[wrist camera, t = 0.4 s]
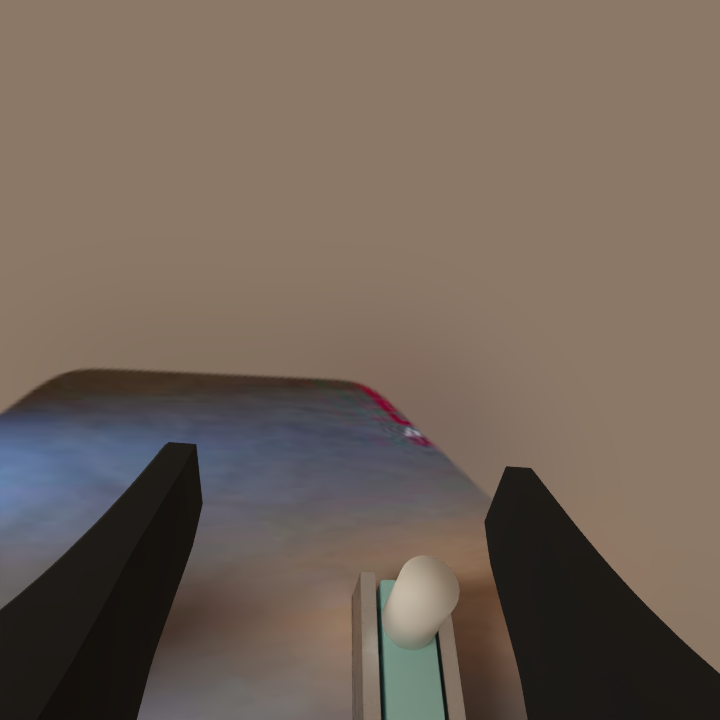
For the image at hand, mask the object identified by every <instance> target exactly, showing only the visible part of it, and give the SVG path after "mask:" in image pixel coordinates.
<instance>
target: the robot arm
mask: <svg viewBox="0 0 720 720" xmlns="http://www.w3.org/2000/svg"><path fill="white" fill-rule="evenodd" d="M202 504H203V503H202V493H201V484H200V475H199V466H198V457H197V447H196V444H187V443H173V442H168V443H167V444H166V445H164V447H163V448H162V449H161V450H160V451H159V453H158V454H157V455H156V456H155V458H154V459H153V460H152V461H151V462H150V464H149V465H148V466H147V467H146V468H145V470H144V471H143V472H142V473H141V474H140V475H139V477H138V478H137V479H136V480H135V481H134V482H133V483H132V484H131V486H130V487H129V488H128V489H127V490H126V491H125V492H124V493H123V495H122V496H121V497H120V498H119V499H118V500H117V501H116V502H115V503H114V504H113V505H112V506H111V507H110V509H109V510H108V511H107V512H106V513H105V514H104V515H103V516H102V517H101V518H100V519H99V520H98V521H97V522H96V523H95V524H94V525H93V526H92V527H91V528H90V529H89V530H88V531H87V532H86V533H85V534H84V535H83V536H82V537H81V538H80V539H79V540H78V541H77V542H76V543H75V544H74V545H73V546H72V547H71V548H70V549H69V550H68V551H67V552H66V553H65V554H64V555H63V556H62V557H61V558H60V559H59V560H57V561H56V562H55V563H54V564H53V565H52V566H51V567H50V568H49V569H48V570H47V571H45V572H44V573H43V574H42V575H41V576H40V577H39V578H38V579H36V580H35V581H34V582H33V583H32V584H31V585H29V586H28V587H27V588H26V589H25V590H24V591H22V592H21V593H20V594H19V595H18V596H17V597H15V598H14V599H13V600H12V601H10V602H9V603H8V604H7V605H6V606H4V607H3V608H2V609H1V610H0V720H137V716H138V712H139V709H140V705H141V701H142V697H143V693H144V690H145V686H146V682H147V678H148V674H149V670H150V667H151V664H152V660H153V657H154V654H155V651H156V648H157V645H158V642H159V639H160V636H161V633H162V631H163V628H164V625H165V622H166V620H167V617H168V614H169V611H170V608H171V606H172V603H173V600H174V597H175V595H176V592H177V589H178V586H179V583H180V581H181V578H182V575H183V572H184V569H185V567H186V564H187V561H188V558H189V555H190V552H191V549H192V546H193V542H194V538H195V534H196V530H197V526H198V522H199V517H200V513H201V508H202ZM485 529H486V537H487V545H488V551H489V558H490V564H491V568H492V572H493V576H494V580H495V583H496V587H497V591H498V595H499V599H500V602H501V606H502V610H503V613H504V617H505V621H506V625H507V628H508V632H509V636H510V639H511V643H512V647H513V650H514V654H515V658H516V662H517V666H518V670H519V675H520V679H521V684H522V690H523V695H524V701H525V707H526V713H527V718H528V720H720V674H719V673H718V672H717V671H716V670H715V669H714V668H713V667H711V666H710V665H709V664H708V663H707V662H706V661H705V660H703V659H702V658H701V657H700V656H699V655H698V654H697V653H695V652H694V651H693V650H692V649H691V648H690V647H689V646H688V645H686V643H684V641H682V640H681V639H680V638H679V637H678V636H677V635H676V634H675V633H674V632H673V631H672V630H671V629H670V628H669V627H668V626H667V625H666V624H665V623H664V622H663V621H662V620H661V619H660V618H659V617H658V616H657V615H656V614H655V613H654V612H653V611H652V610H650V609H649V607H648V606H646V604H645V603H644V602H643V601H642V600H641V599H640V598H639V597H638V596H637V595H636V594H635V593H634V592H633V591H632V590H631V589H630V588H629V587H628V585H627V584H626V583H625V582H624V581H623V580H622V579H621V578H620V577H619V576H618V574H617V573H616V572H615V571H614V570H613V569H612V568H611V567H610V566H609V564H608V563H607V562H606V561H605V560H604V559H603V557H602V556H601V555H600V554H599V553H598V552H597V550H596V549H595V548H594V547H593V545H592V544H591V543H590V542H589V541H588V539H587V538H586V537H585V536H584V535H583V533H582V532H581V531H580V530H579V529H578V527H577V526H576V525H575V524H574V522H573V521H572V520H571V519H570V517H569V516H568V515H567V514H566V512H565V511H564V510H563V508H562V507H561V506H560V504H559V503H558V502H557V501H556V499H555V498H554V497H553V495H552V494H551V493H550V492H549V490H548V489H547V488H546V486H545V485H544V484H543V483H542V482H541V480H540V479H539V477H538V476H537V475H536V474H535V472H534V471H533V470H532V469H531V468H521V467H508V466H507V467H506V468H505V470H504V473H503V475H502V478H501V480H500V483H499V486H498V488H497V491H496V493H495V496H494V498H493V501H492V504H491V506H490V509H489V511H488V514H487V516H486V519H485Z"/></svg>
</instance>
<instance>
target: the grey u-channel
mask: <svg viewBox="0 0 720 720" xmlns="http://www.w3.org/2000/svg"><path fill="white" fill-rule="evenodd" d="M435 639H436V648H437V656H438V665H439V673H440V682H441V691H442V699H443V708H444V716H445V720H466V716H465V709H464V702H463V695H462V687H461V680H460V673H459V666H458V659H457V652H456V645H455V638H454V631H453V624H452V617H451V614H450V615H449V616H448V618H447V619H446V621H445V622H444V623H443V625H442V626H441V627H440V629H439V630H438V631H437V633H436V634H435ZM352 691H353V720H381V706H380V682H379V658H378V634H377V610H376V586H375V573H372V572H360V575H359V578H358V581H357V584H356V587H355V590H354V592H353V595H352Z"/></svg>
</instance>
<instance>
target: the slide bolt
mask: <svg viewBox="0 0 720 720" xmlns="http://www.w3.org/2000/svg"><path fill="white" fill-rule="evenodd" d="M459 593H460V590H459V584H458V580H457V578H456V576H455V574H454V572H453V571H452V569H451V568H450V567H449V566H448V565H447V564H446V563H445V562H443V561H442V560H440V559H438V558H436V557H433V556H427V555H421V556H417V557H414V558H412V559H410V560H409V561H408V562H407V563H406V564H405V565H404V566H403V568H402V570H401V572H400V574H399V576H398V578H397V580H381V583H380V585H379V587H378V590H377V592H376V610H377V634H378V658H379V682H380V706H381V720H445V716H444V708H443V699H442V691H441V682H440V673H439V665H438V656H437V648H436V639H435V634H436V633H437V631H438V630H439V629H440V627H441V626H442V625H443V623H444V622H445V621H446V619H447V618H448V616H449V615H450V614H451V612H452V611H453V610H454V608H455V607H456V605H457V603H458V600H459Z"/></svg>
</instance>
